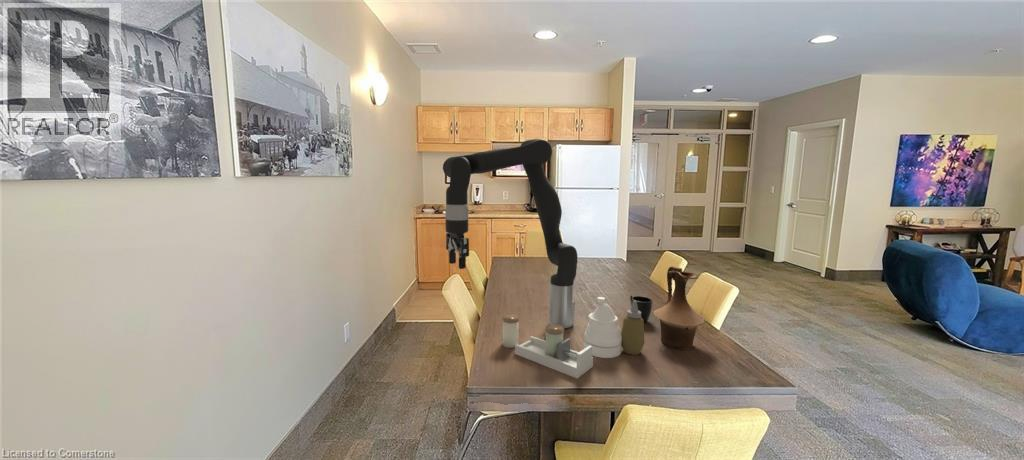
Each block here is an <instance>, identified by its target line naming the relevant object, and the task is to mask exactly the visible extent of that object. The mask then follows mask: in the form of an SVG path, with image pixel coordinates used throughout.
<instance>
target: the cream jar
mask: <svg viewBox="0 0 1024 460" xmlns="http://www.w3.org/2000/svg"><path fill="white" fill-rule="evenodd" d="M519 322H520V316H519V315H517V314H509V313H508V314H505V315H503V316H502V346H504V348H509V349H512V348H515V345H516V344H518V345H519V331H520V329H519Z"/></svg>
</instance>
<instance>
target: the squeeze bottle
mask: <svg viewBox="0 0 1024 460" xmlns="http://www.w3.org/2000/svg"><path fill="white" fill-rule="evenodd" d="M630 306H631V305H630ZM620 334H621V336H622V347H621V349H622V351H623V352H624V353H626V354H628V355H633V356H634V355H639V354H641V351H642V350H643V348H644V345H645V344H646V343H645V323H644V320H643V319H642V318H641V312H640V311H639V310H638V307H637V301H633V303H632V306H631V307H630V309H628V310H627V311H626V315H625V316H624V317H623V321H622V326H621V330H620Z"/></svg>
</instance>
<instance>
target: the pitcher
mask: <svg viewBox="0 0 1024 460" xmlns="http://www.w3.org/2000/svg"><path fill="white" fill-rule="evenodd" d="M697 278H698V277H697V275H696V273H693V272H689V271H683V268H682V267H679V266H674V265H673V266H669V267H668V268H667V272H666V282H667V301H666V303H665V304H664V306H662V307H660V308H657V309H655V310H654V311H653V314H654V316H655V317H656V318H658V319H659V322H660V341H661V343H662V344H663V345H664V346H665V345H666V346H667V347H669V348H671V349H672V348H673V349H676V348H677V350H689V349H691V347H692V348H693V346H694V345H693V344H694V339H695V336H696V332H697V328H698V327H699V326H702V325H704V324H705V323H706V322H705V321H706V320H705V318H704V316H702V315H701V314H700V313H699V312H697V311H696V310H695V309H694V308H693V307H692V306H691V305H690V304H689V302H688V300H687V296H686V294H687V293H686V288H687V287H686V286H687V282H688V281H689V280H695V279H697ZM672 281H674V292H673V286H672V285H673V282H672ZM688 348H689V349H688Z"/></svg>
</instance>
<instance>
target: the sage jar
mask: <svg viewBox="0 0 1024 460" xmlns="http://www.w3.org/2000/svg"><path fill="white" fill-rule="evenodd" d="M564 331H565V328H563V327H562V326H560V325H556V324H551V325H550V324H547V325H545V341H546V346H545V355H548V356H551V357H553V358H556V354H557V345H558V344H560V343H561V342H563V341H564Z"/></svg>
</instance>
